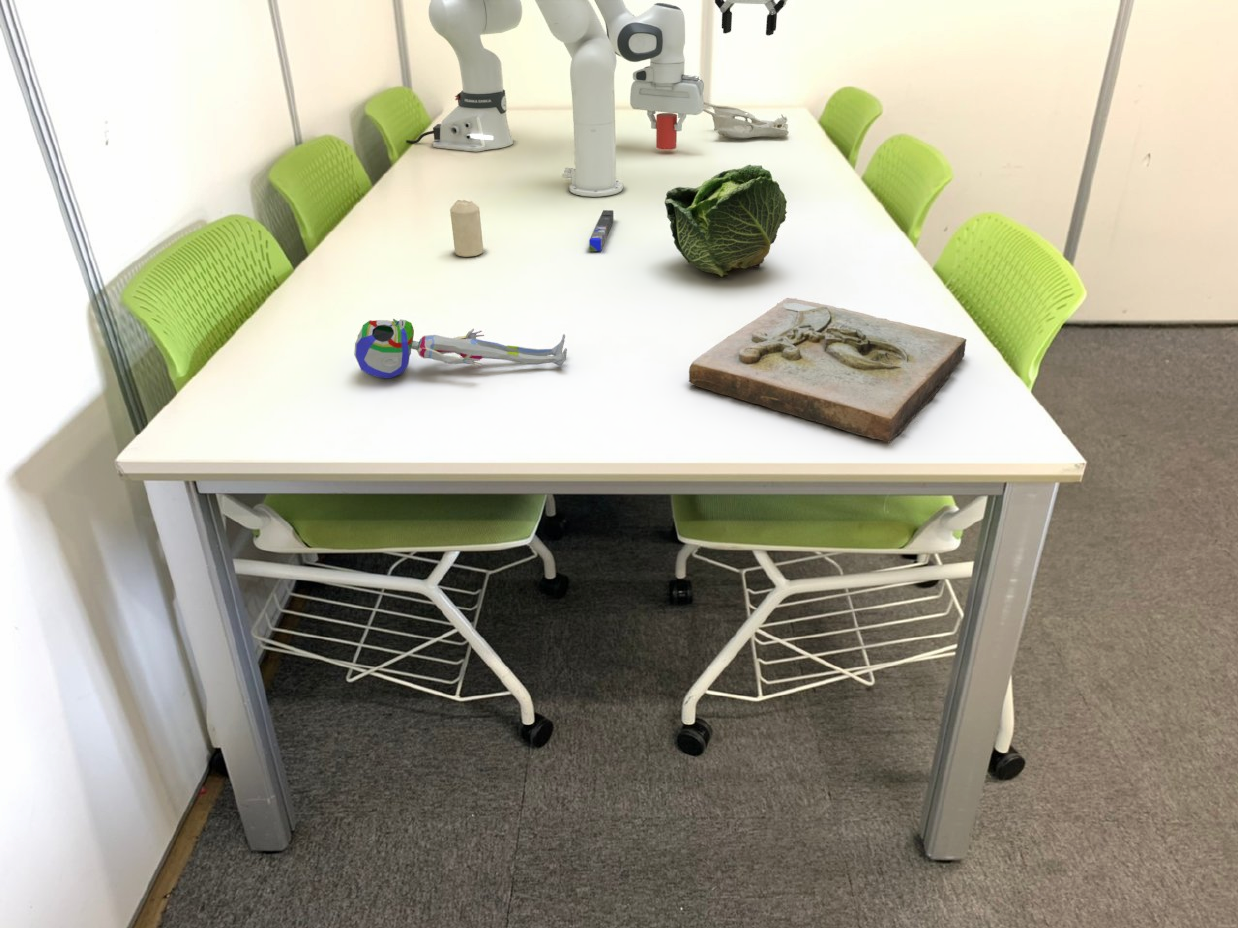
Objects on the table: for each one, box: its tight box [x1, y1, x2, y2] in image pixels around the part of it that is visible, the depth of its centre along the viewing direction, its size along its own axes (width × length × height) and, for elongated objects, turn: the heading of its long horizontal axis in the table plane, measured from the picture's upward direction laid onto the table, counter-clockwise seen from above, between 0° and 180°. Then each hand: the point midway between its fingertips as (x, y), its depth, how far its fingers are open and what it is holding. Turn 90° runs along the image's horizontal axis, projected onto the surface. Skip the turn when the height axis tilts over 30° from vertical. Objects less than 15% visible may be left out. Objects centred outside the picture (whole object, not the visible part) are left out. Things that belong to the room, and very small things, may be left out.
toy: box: [353, 318, 568, 379], centre depth 130 cm, size 10×8×30 cm
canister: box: [655, 112, 678, 151], centre depth 239 cm, size 5×5×8 cm
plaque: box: [688, 297, 967, 444], centre depth 127 cm, size 30×7×30 cm
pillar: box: [588, 209, 615, 252], centre depth 182 cm, size 2×2×20 cm
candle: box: [449, 199, 484, 258], centre depth 172 cm, size 6×6×10 cm
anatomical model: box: [702, 101, 789, 140], centre depth 253 cm, size 15×9×25 cm
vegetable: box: [664, 164, 788, 278], centre depth 161 cm, size 20×19×20 cm
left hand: (666, 129), depth 239 cm, fingers closed on canister, 5 cm apart
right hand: (748, 33), depth 192 cm, fingers open, 9 cm apart
